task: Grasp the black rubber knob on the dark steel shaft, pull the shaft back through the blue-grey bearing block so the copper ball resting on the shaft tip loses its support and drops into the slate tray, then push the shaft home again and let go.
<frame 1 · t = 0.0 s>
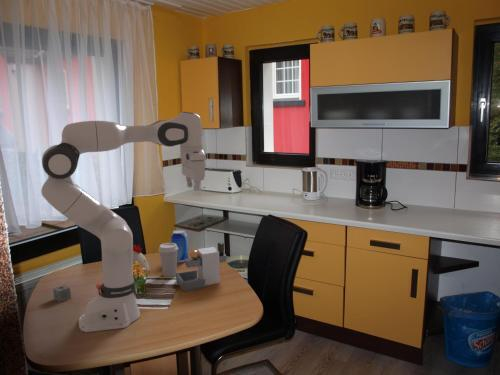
hand: (193, 188, 167), 48 cm above the table, fingers open, 8 cm apart
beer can: (180, 260, 226), on the table
grey cube with hole: (62, 299, 181), on the table
bearing block: (209, 281, 197), on the table
coffee cup: (169, 275, 206), on the table
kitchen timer: (135, 274, 208), on the table
copper ball: (194, 254, 192), point 14 cm above the table, touching shaft
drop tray: (190, 284, 194), on the table
shaft: (205, 254, 194), point 13 cm above the table, slide at 0.0 cm, touching copper ball
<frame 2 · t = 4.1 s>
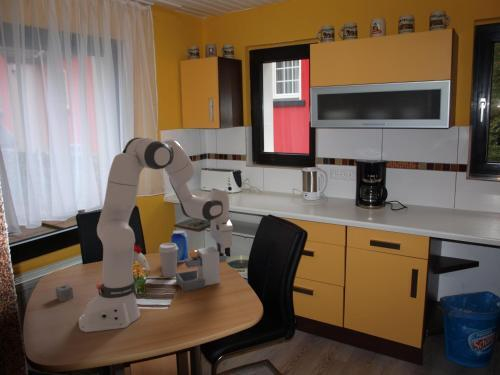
hand: (220, 251, 197), 14 cm above the table, fingers closed on shaft, 3 cm apart
shaft: (205, 254, 194), point 13 cm above the table, slide at 0.0 cm, touching copper ball, gripper
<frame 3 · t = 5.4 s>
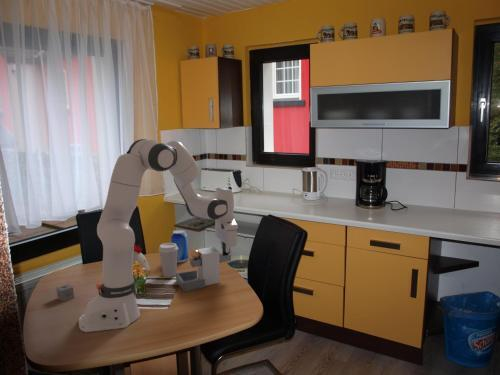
hand: (225, 250, 198), 14 cm above the table, fingers closed on shaft, 3 cm apart
copper ball: (195, 254, 192), point 14 cm above the table, tilted 50°, touching shaft
shaft: (210, 253, 195), point 13 cm above the table, slide at 2.3 cm, touching copper ball, gripper
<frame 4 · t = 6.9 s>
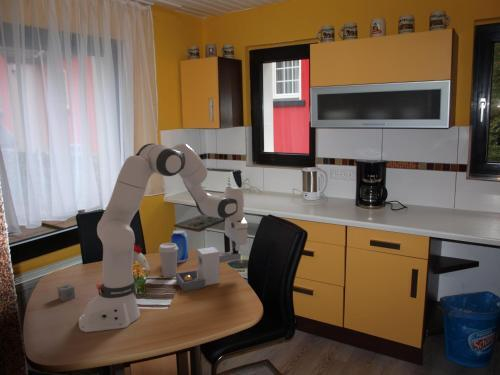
hand: (235, 248, 200), 14 cm above the table, fingers closed on shaft, 3 cm apart
copper ball: (187, 279, 193), point 3 cm above the table, tilted 60°, touching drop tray
shaft: (220, 252, 197), point 13 cm above the table, slide at 7.3 cm, touching gripper
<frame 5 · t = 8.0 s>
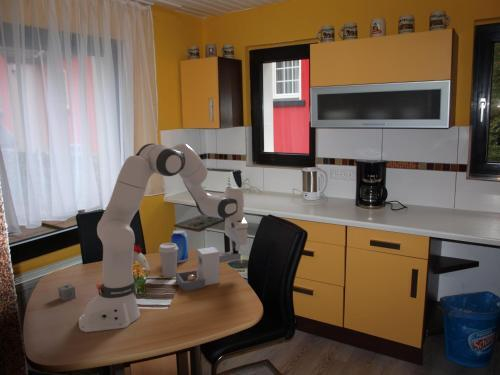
hand: (235, 248, 200), 14 cm above the table, fingers closed on shaft, 3 cm apart
copper ball: (191, 278, 193), point 3 cm above the table, tilted 109°, touching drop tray
shaft: (220, 252, 197), point 13 cm above the table, slide at 7.3 cm, touching gripper
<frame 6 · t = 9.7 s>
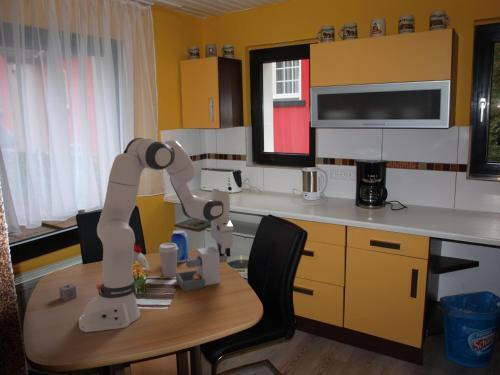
hand: (221, 251, 197), 13 cm above the table, fingers closed on shaft, 3 cm apart
copper ball: (196, 278, 194), point 3 cm above the table, tilted 178°, touching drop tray
shaft: (206, 254, 194), point 13 cm above the table, slide at 0.3 cm, touching gripper
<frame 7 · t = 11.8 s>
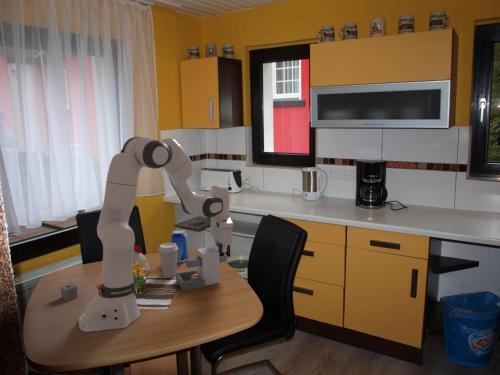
hand: (220, 249, 197), 15 cm above the table, fingers open, 8 cm apart
copper ball: (194, 278, 194), point 3 cm above the table, tilted 153°, touching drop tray
shaft: (206, 254, 194), point 13 cm above the table, slide at 0.2 cm
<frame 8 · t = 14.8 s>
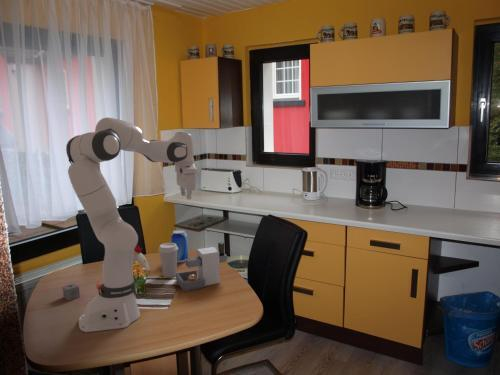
hand: (186, 197, 196), 39 cm above the table, fingers open, 8 cm apart
copper ball: (192, 278, 193), point 3 cm above the table, tilted 118°, touching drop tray
at the end: copper ball inside the target area (1.3 cm from its centre), point 2.6 cm above the table; copper ball touching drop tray; shaft slide at 0.2 cm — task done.
